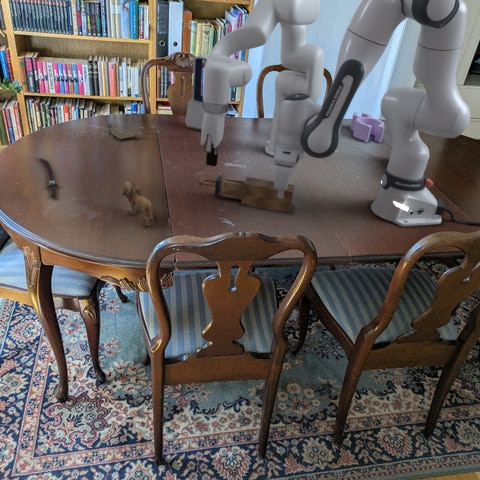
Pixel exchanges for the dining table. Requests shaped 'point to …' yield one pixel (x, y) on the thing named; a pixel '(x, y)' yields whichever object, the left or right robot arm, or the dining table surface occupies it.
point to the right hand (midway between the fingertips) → (282, 190)
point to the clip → (367, 127)
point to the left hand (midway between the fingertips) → (211, 164)
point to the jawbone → (122, 135)
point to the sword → (52, 181)
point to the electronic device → (196, 96)
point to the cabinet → (266, 195)
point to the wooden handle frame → (225, 187)
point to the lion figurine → (137, 201)
